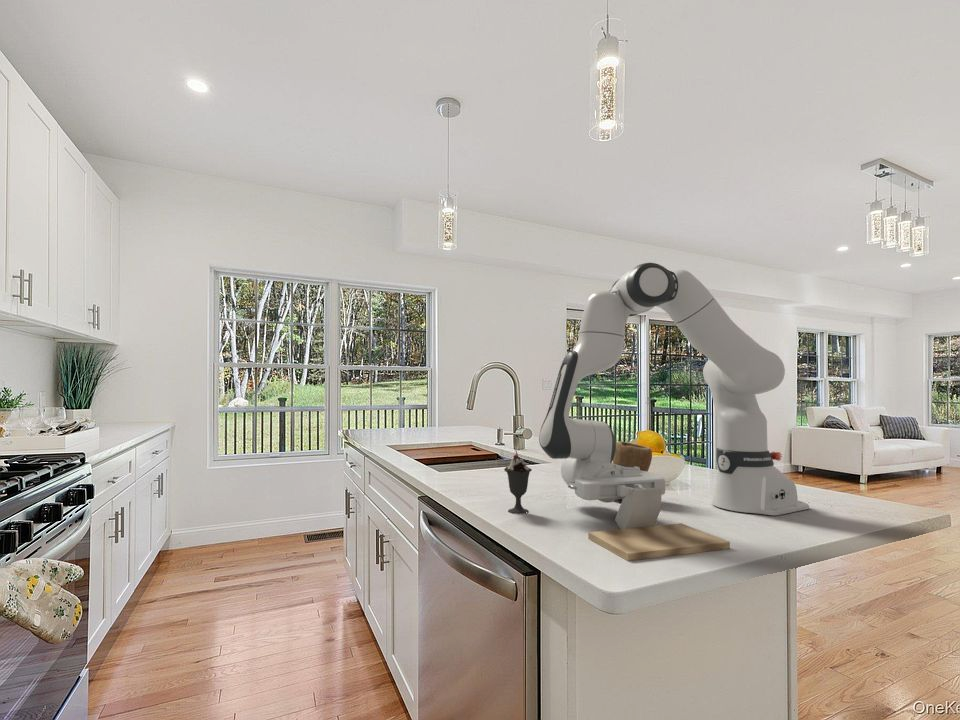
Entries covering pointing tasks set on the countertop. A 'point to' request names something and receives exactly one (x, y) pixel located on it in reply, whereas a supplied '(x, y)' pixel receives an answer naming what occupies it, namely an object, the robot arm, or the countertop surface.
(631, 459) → the brown suede boot
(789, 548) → the countertop surface
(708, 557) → the countertop surface
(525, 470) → the sundae
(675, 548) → the oak board
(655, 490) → the white printed carton
